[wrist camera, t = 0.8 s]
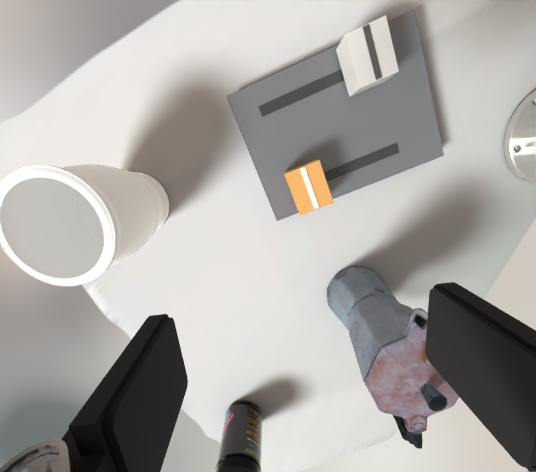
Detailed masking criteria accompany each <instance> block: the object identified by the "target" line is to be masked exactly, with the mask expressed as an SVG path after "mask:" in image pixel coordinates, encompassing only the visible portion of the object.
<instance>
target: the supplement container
mask: <svg viewBox="0 0 536 472" xmlns="http://www.w3.org/2000/svg"><path fill="white" fill-rule="evenodd" d="M261 440H262V414H261V411H260V409H259V408H258V407H257V406H256V405H254V404H253V403H250V402H237V403H235V404H233V405H232V406H231V407H230V408H229V409H228V410H227V412H226V416H225V422H224V428H223V433H222V439H221V444H220V451H219V456H218V461H217V465H216V472H261Z"/></svg>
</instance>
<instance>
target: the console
mask: <svg viewBox="0 0 536 472" xmlns="http://www.w3.org/2000/svg"><path fill="white" fill-rule="evenodd" d="M388 26H389V31H390V35H391V39H392V44H393V48H394V52H395V57H396V61H397V65H398V70H399V72H397V73H396V74H394V75H393V76H392V77H390V78H389V79H387V80H386V81H385V82H383V83H380V84H378V85H376V86H374V87H371V88H369V89H367V90H364V91H362V92H360V93H358V94H355V95H353V96H351V97H349V94H348V90H347V87H346V83H345V80H344V76H343V73H342V69H341V66H340V62H339V59H338V55H337V52H336V49H337V47H338V45H339V44H338V45H336V46H334V47H332V48H330V49H328V50H326V51H323V52H321V53H319V54H317V55H315V56H313V57H310V58H308V59H306V60H304V61H302V62H300V63H298V64H295V65H293V66H291V67H289V68H287V69H285V70H282V71H280V72H278V73H276V74H274V75H272V76H270V77H267V78H265V79H263V80H261V81H259V82H257V83H254V84H252V85H250V86H248V87H246V88H244V89H242V90H239V91H237V92H235V93H233V94H231V95H229V96H227V99H228V101H229V104H230V106H231V108H232V111H233V113H234V116H235V118H236V121H237V123H238V126H239V128H240V131H241V133H242V136H243V138H244V141H245V143H246V145H247V148H248V150H249V153H250V155H251V158H252V160H253V163H254V165H255V168H256V170H257V173H258V175H259V178H260V180H261V183H262V185H263V187H264V190H265V192H266V195H267V197H268V200H269V202H270V205H271V207H272V210H273V212H274V215H275V217H276V220H277V221H278V220H281V219H283V218H286V217H288V216H291V215H293V214H296V213H299V212H298V210H297V207H296V205H295V202H294V199H293V197H292V194H291V192H290V189H289V186H288V184H287V181H286V178H285V176H284V172H286V171H289V170H291V169H294V168H296V167H299V166H301V165H303V164H306V163H308V162H311V161H313V160H320V163H321V166H322V169H323V172H324V175H325V178H326V181H327V184H328V187H329V190H330V193H331V196H332V199H334V198H337V197H339V196H342V195H344V194H347V193H350V192H352V191H355V190H357V189H360V188H362V187H365V186H367V185H370V184H372V183H375V182H378V181H380V180H383V179H385V178H388V177H390V176H393V175H395V174H398V173H400V172H403V171H406V170H408V169H411V168H413V167H416V166H418V165H421V164H423V163H426V162H428V161H431V160H434V159H436V158H439V157H441V156H444V154H443V149H442V144H441V139H440V134H439V129H438V124H437V119H436V114H435V109H434V104H433V99H432V94H431V89H430V85H429V80H428V75H427V70H426V65H425V60H424V55H423V50H422V45H421V40H420V35H419V30H418V25H417V20H416V15H415V10H412V11H410V12H407V13H405V14H403V15H401V16H399V17H397V18H395V19H392V20H390V21H388Z"/></svg>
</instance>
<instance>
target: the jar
mask: <svg viewBox="0 0 536 472" xmlns="http://www.w3.org/2000/svg"><path fill="white" fill-rule="evenodd" d="M168 213H169V200H168V196H167V194H166V192H165V190H164V188H163V187H162V185H161V184H160V183H159V182H158V181H157V180H156V179H154V178H153V177H151V176H149V175H147V174H144V173H140V172H130V171H127V170H123V169H118V168H114V167H109V166H103V165H76V166H69V167H64V168H60V167H55V166H40V165H38V166H28V167H24V168H21V169H18V170H16V171H14V172H12V173H11V174H9V175H8V176H7V177H6V178H5V179H4V180H3V181H2V182H1V183H0V245H1V247H2V248H3V250H4V251H5V252H6V254H7V255H8V256H9V257H10V259H11V260H12V261H13V262H14V263H15V264H16V265H17V266H18V267H20V268H21V269H22V270H23V271H25V272H26V273H28V274H29V275H31V276H32V277H34V278H36V279H38V280H41V281H43V282H46V283H49V284H53V285H58V286H76V285H82V284H85V283H88V282H90V281H92V280H94V279H96V278H98V277H99V276H101V275H102V274H103V273H104V272H106V271H107V270H108V269H109V267H111V266H113V265H115V264H117V263H119V262H121V261H123V260H125V259H127V258H128V257H130V256H131V255H133V254H134V253H135V252H137V251H138V250H139V249H140V248H141V247H142V246H143V245H144V244H145V243H146V242H147V240H148V239H149V238H150V237H151V236H152V235H153V234H154V232H155V231H156V230H157V229H158V228H160V227H161V226H162V225H163V224H164V222H165V221H166V219H167V217H168Z"/></svg>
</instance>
